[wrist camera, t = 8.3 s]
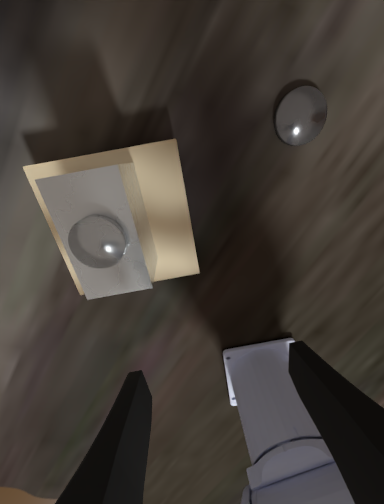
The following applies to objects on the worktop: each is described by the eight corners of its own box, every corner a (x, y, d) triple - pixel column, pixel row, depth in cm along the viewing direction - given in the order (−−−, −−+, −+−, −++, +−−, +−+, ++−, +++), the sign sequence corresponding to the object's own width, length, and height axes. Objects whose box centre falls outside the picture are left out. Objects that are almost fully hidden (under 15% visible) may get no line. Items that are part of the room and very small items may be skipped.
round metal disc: (317, 142, 17) (323, 141, 16) (271, 148, 17) (275, 148, 16) (323, 86, 15) (330, 82, 15) (272, 92, 15) (277, 89, 15)
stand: (197, 262, 20) (199, 273, 18) (88, 282, 20) (80, 294, 18) (175, 140, 16) (176, 138, 14) (40, 165, 16) (22, 166, 14)
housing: (133, 162, 14) (114, 164, 10) (157, 257, 17) (151, 293, 13) (73, 173, 14) (26, 180, 10) (107, 266, 17) (83, 305, 13)
